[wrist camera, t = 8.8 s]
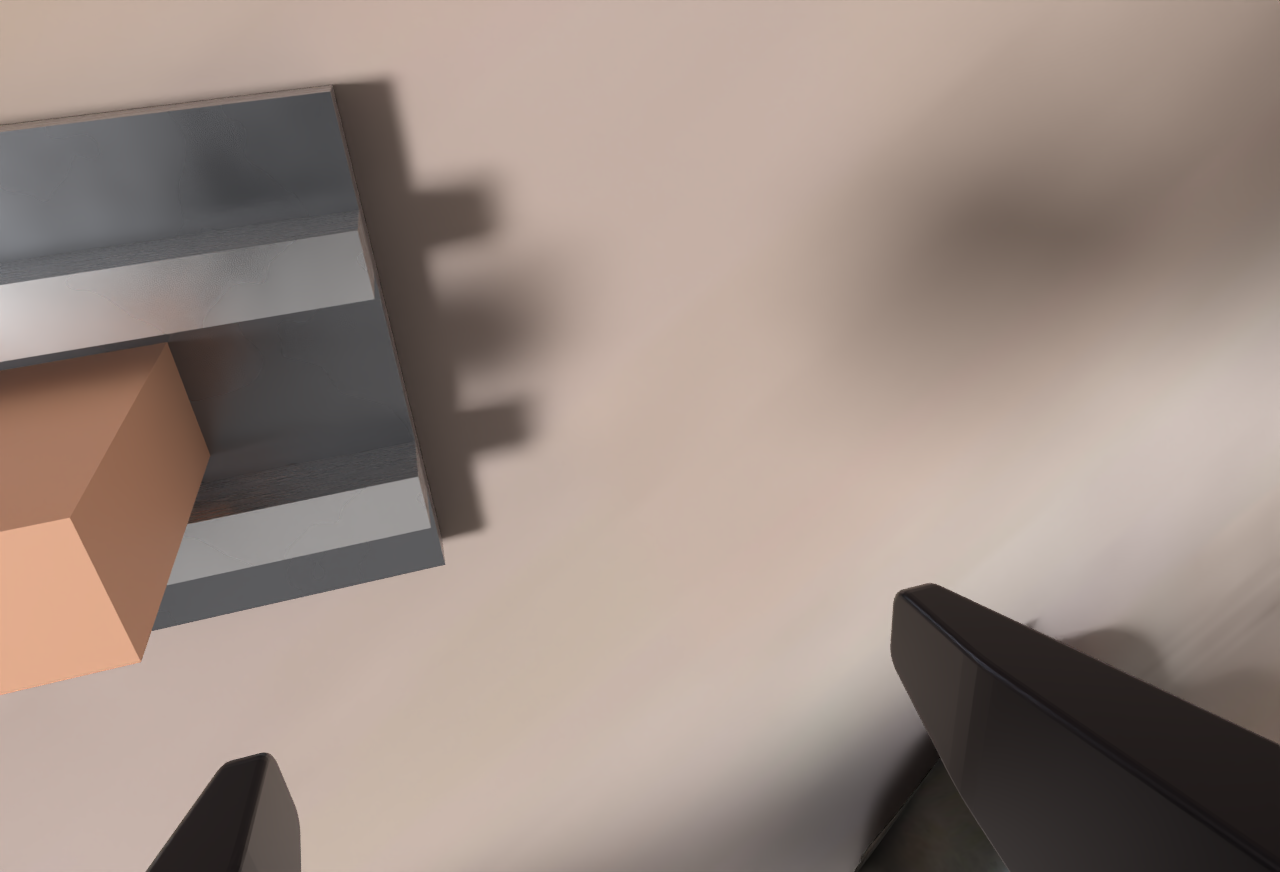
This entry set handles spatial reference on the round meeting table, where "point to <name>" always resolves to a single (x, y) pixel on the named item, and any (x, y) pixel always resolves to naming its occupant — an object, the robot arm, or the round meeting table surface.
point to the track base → (230, 329)
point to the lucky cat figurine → (932, 834)
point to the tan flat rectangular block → (90, 509)
